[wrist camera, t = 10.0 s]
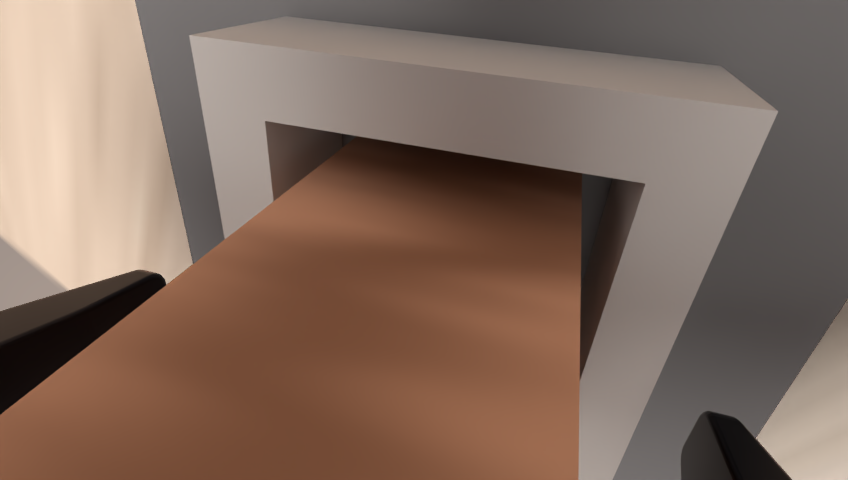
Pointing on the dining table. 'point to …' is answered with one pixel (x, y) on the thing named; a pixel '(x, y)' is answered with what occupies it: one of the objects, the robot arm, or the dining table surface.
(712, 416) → the robot arm
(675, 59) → the socket
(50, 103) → the dining table surface
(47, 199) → the dining table surface
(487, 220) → the peg
